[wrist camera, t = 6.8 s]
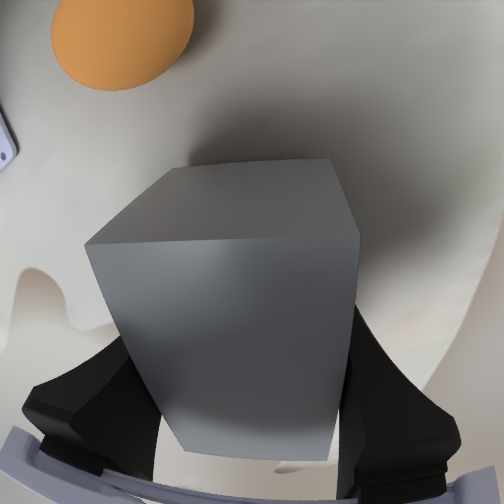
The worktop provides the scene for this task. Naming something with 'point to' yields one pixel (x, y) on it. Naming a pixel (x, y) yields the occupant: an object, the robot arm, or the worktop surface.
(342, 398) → the robot arm
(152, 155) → the worktop surface
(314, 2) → the worktop surface
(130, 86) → the ball
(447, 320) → the worktop surface
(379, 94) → the worktop surface
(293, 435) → the gray rectangular block
